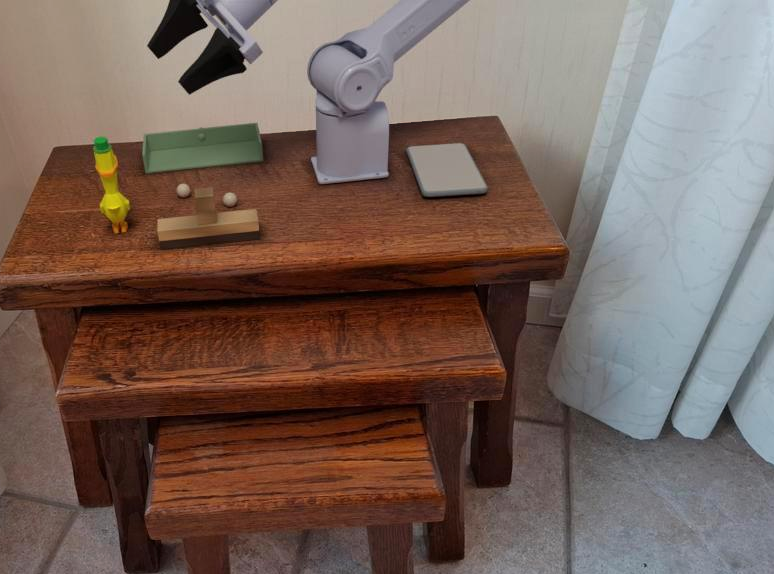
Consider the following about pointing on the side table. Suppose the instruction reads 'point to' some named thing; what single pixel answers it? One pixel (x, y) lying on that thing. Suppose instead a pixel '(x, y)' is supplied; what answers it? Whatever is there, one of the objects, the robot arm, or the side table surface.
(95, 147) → the toy figure
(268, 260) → the side table surface
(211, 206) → the brush
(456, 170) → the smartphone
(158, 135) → the dustpan
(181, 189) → the crumb
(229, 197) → the crumb
